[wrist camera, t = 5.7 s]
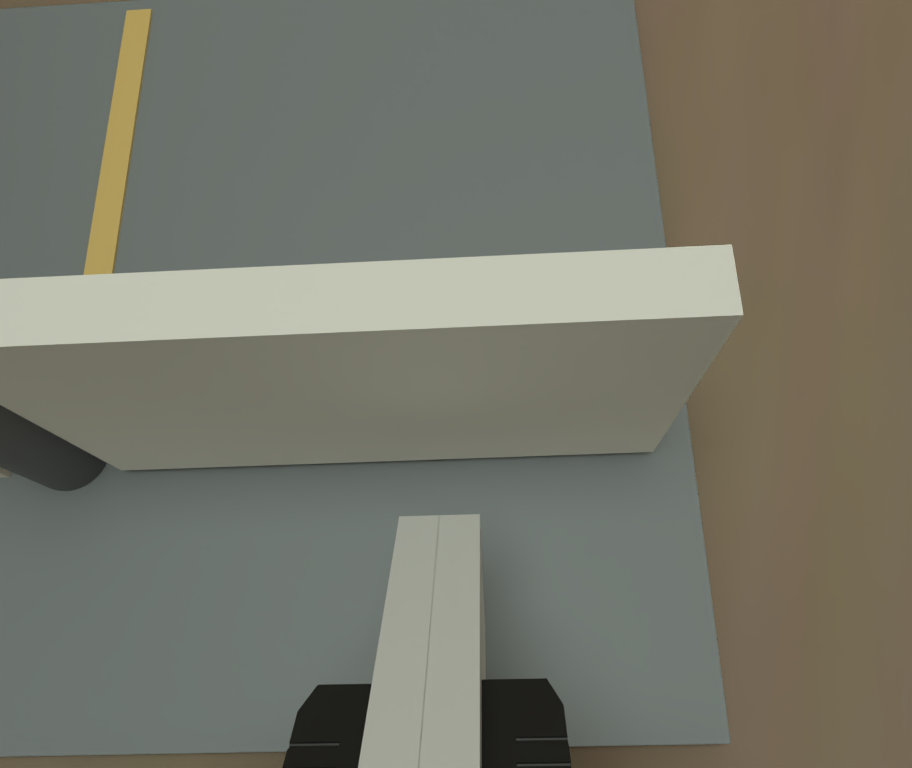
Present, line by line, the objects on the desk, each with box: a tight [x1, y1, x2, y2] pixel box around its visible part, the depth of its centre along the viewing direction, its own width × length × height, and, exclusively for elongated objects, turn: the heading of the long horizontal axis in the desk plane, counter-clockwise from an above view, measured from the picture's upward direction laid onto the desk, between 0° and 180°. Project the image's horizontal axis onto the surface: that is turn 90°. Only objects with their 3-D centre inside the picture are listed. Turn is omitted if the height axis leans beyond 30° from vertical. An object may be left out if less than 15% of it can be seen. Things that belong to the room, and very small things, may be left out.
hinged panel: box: [0, 245, 743, 471], centre depth 16 cm, size 13×1×8 cm, turn 91°
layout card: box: [0, 0, 730, 757], centre depth 22 cm, size 27×22×1 cm
